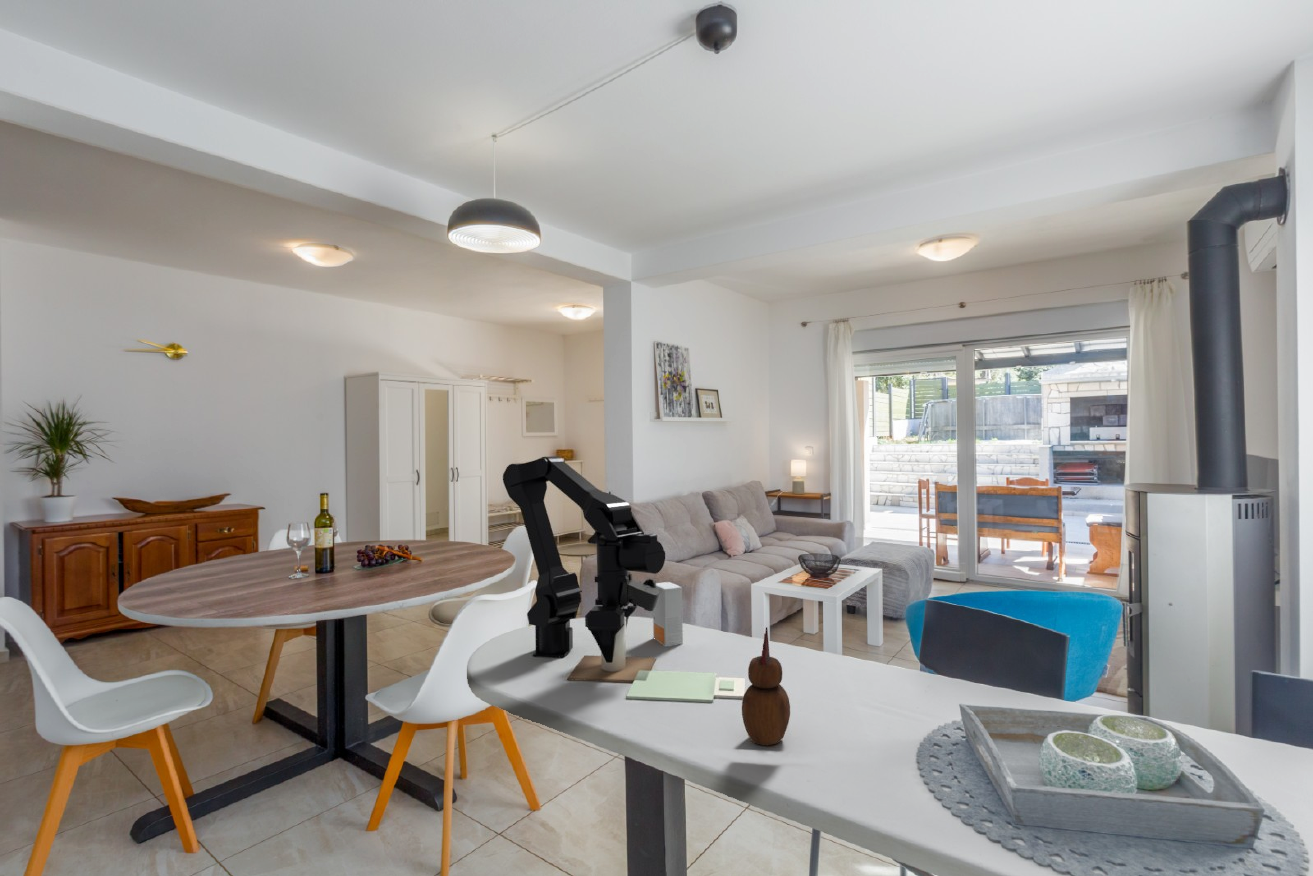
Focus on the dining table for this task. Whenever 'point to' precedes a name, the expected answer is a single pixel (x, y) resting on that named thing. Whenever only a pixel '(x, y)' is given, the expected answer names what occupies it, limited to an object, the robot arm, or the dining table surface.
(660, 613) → the skincare box
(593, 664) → the walnut mat
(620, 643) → the bottle
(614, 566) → the robot arm
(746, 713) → the wooden figurine
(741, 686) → the card
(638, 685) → the green mat
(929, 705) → the dining table surface
